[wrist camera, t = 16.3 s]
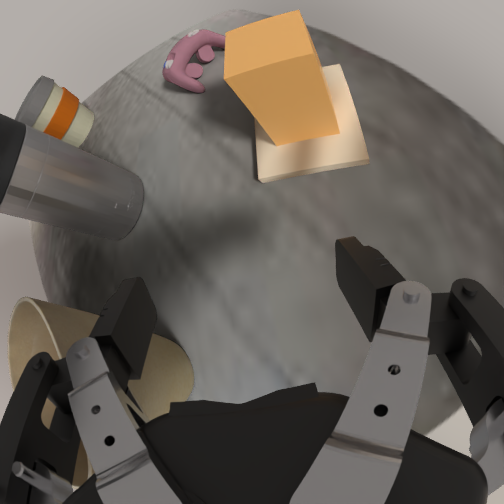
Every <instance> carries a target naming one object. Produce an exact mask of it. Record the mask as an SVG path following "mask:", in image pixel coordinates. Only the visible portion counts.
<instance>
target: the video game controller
mask: <svg viewBox="0 0 504 504" xmlns="http://www.w3.org/2000/svg"><path fill="white" fill-rule="evenodd" d="M225 37H226V36H223V35H220V34H217V33H215V32H212V31H209V30H194V31H192V32H190V33H189V34H188V35H186V36H185V37H183V38H182V39H181V40H180V41H179V42H178V43H177V44H176V45H175V46H174V47H173V48H172V50H171V51H170V53H169V55H168V57H167V59H166V62H165V63H164V68H163V77H164V78H165V79H166V80H167V81H169V82H171V83H174V84H176V85H178V86H180V87H182V88H184V89H187V90H189V91H192V92H196V93H203V92H204V91H205V87H204V86H203V85H202V84H201V83H200V82H199V81H197V80H195V79H196V78H198V77H200V76H201V75H202V73H203V68H202V66H201V65H199V64H197V63H190V64H188V62H189V60H190V59H191V57H192V56H193V54H194V53H196V56H197V58H198V60H199V61H200V62H203V63H208V62H210V61H211V60H213V58H214V56H215V54H214V52H213V50H212V48H211V47H212V46H215V47H220V48H224V49H225Z"/></svg>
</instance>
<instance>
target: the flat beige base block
mask: <svg viewBox="0 0 504 504" xmlns="http://www.w3.org/2000/svg"><path fill="white" fill-rule="evenodd" d="M322 69H323V72H324V75H325V78H326V81H327V84H328V87H329V91H330V94H331V98H332V102H333V106H334V110H335V114H336V118H337V122H338V126H339V131H340V134H335V135H330V136H324V137H318V138H313V139H308V140H303V141H298V142H293V143H289V144H284V145H280V146H276V145H275V143H274V142H273V141H272V139H271V138H270V137H269V135H268V134H267V133H266V131H265V130H264V129H263V127H262V126H261V125H260V123H259V122H258V121H257V119H256V118H255V117H254V121H255V135H256V150H257V165H258V179H259V180H260V181H261V182H262V183H266V182H270V181H275V180H280V179H285V178H290V177H295V176H300V175H306V174H311V173H316V172H322V171H328V170H334V169H340V168H346V167H352V166H359V165H365V164H369V157H368V153H367V149H366V145H365V141H364V137H363V134H362V130H361V127H360V123H359V120H358V116H357V113H356V110H355V107H354V103H353V100H352V97H351V94H350V91H349V88H348V85H347V83H346V80H345V77H344V74H343V72H342V69H341V66H340V64H337V65H331V66H326V67H322Z"/></svg>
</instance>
